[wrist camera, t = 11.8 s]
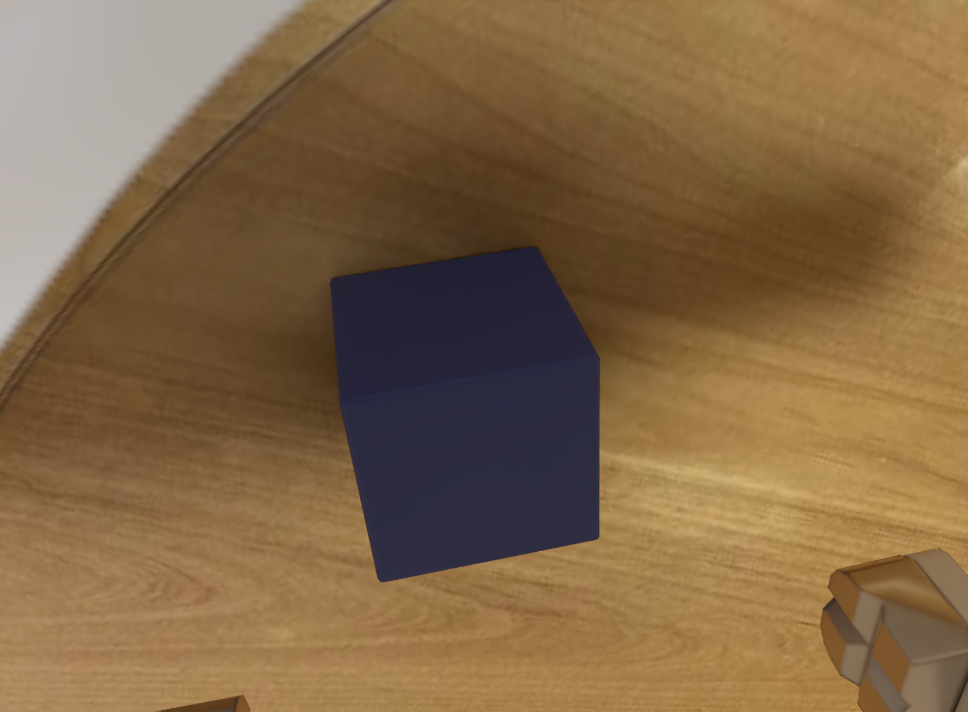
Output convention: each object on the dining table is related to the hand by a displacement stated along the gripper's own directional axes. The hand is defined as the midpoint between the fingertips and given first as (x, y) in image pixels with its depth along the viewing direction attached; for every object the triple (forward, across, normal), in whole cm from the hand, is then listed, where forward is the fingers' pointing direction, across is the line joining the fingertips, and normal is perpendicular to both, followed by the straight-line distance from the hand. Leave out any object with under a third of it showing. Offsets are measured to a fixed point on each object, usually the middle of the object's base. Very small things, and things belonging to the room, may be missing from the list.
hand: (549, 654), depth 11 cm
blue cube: (+8, 0, 0) cm, 9 cm away
